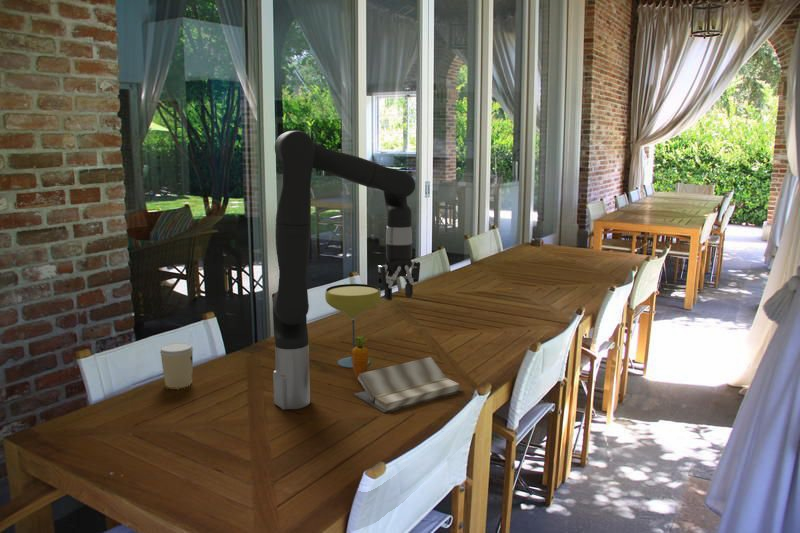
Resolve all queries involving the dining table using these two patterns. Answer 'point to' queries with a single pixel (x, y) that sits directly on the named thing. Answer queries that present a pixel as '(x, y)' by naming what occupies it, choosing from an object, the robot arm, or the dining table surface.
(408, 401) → the floor base
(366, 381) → the board
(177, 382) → the coffee cup
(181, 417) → the dining table surface
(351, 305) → the cocktail glass
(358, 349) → the carrot
